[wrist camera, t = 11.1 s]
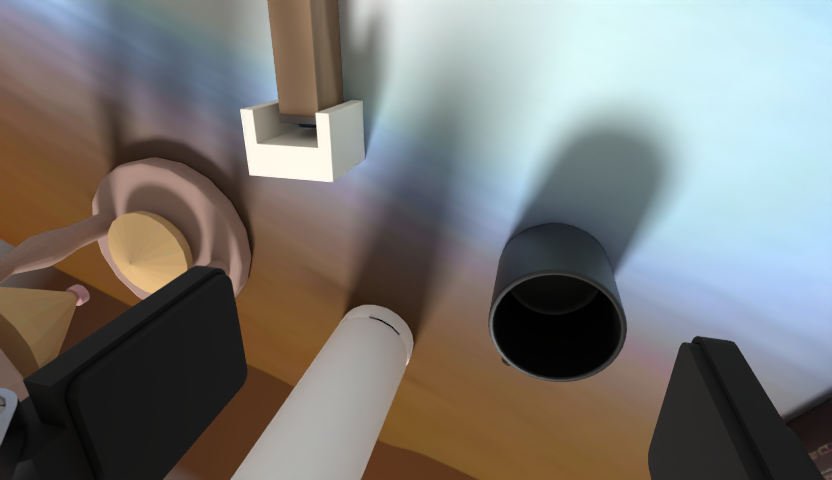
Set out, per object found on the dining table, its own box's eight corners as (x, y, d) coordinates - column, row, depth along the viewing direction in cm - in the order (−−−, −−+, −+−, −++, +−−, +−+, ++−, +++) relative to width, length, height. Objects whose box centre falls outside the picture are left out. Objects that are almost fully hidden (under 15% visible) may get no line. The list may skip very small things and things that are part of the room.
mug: (465, 301, 44) (447, 361, 36) (537, 201, 39) (536, 245, 31) (549, 352, 44) (551, 423, 36) (634, 259, 39) (658, 318, 30)
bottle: (399, 299, 46) (232, 614, 21) (423, 365, 48) (299, 715, 24) (329, 310, 48) (106, 600, 24) (355, 372, 51) (179, 692, 26)
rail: (332, -122, 33) (299, -146, 28) (345, 114, 40) (320, 124, 35) (288, -119, 34) (250, -142, 29) (308, 112, 40) (279, 122, 36)
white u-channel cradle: (351, -194, 31) (303, -251, 25) (364, 159, 41) (333, 182, 35) (257, -184, 32) (190, -236, 26) (292, 154, 42) (249, 175, 36)
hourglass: (276, 219, 46) (25, 395, 23) (224, 334, 54) (2, 545, 32) (124, 122, 45) (-274, 208, 23) (95, 252, 54) (-219, 407, 31)
